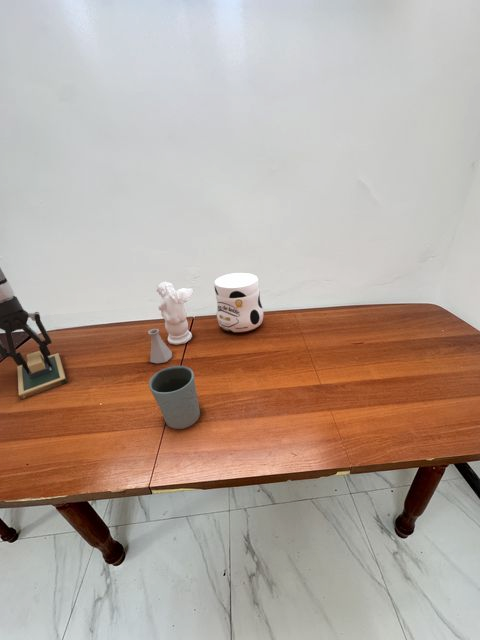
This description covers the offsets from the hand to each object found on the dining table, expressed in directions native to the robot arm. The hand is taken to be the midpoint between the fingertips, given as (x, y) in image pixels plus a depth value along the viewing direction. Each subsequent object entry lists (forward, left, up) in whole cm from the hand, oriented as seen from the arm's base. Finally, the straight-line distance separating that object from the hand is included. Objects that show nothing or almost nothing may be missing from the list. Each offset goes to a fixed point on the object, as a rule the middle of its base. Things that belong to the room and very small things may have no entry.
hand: (39, 368), depth 93 cm
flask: (+32, +20, -2) cm, 37 cm away
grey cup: (+55, +1, -2) cm, 55 cm away
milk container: (+47, +48, -2) cm, 67 cm away
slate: (+2, -1, -2) cm, 3 cm away
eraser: (0, 0, 0) cm, 0 cm away
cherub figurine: (+32, +33, -2) cm, 46 cm away
